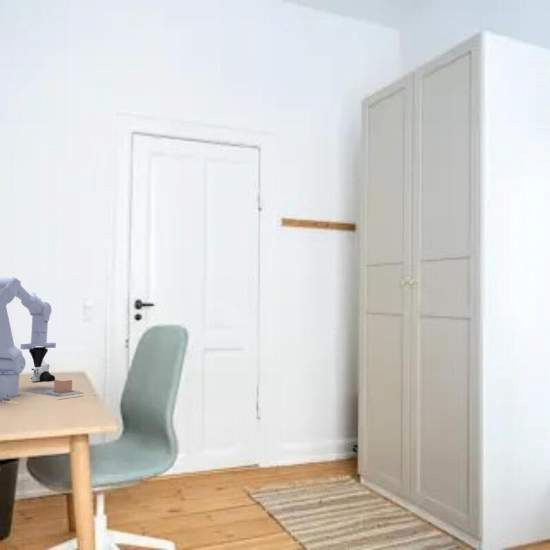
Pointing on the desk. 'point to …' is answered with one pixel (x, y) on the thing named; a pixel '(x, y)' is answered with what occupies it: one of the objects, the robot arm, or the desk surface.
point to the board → (43, 391)
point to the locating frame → (62, 393)
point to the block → (62, 385)
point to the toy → (42, 374)
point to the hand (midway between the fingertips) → (37, 367)
